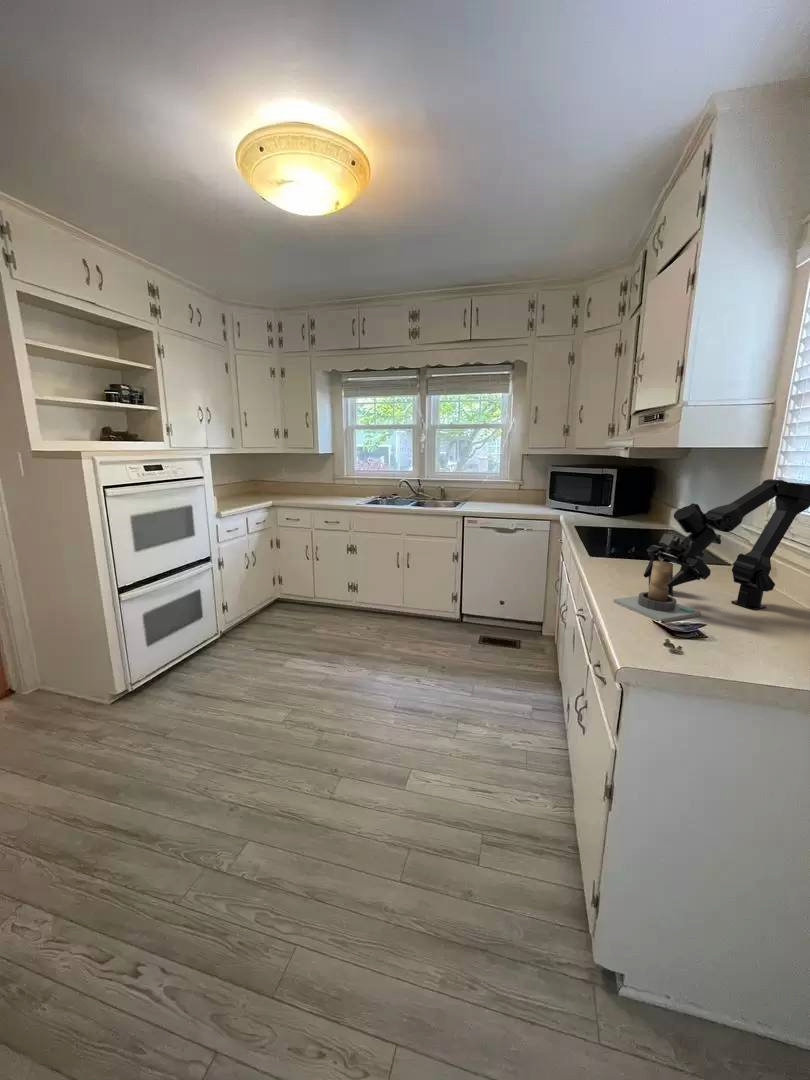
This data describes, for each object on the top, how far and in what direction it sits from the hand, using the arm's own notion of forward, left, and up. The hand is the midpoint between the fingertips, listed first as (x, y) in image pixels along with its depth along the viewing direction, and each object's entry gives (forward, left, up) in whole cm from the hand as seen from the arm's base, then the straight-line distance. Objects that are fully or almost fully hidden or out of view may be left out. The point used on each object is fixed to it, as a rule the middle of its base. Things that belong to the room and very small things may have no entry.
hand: (655, 581), depth 125 cm
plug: (-1, 0, -8) cm, 8 cm away
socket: (-1, 0, -9) cm, 9 cm away
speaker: (-16, -11, -9) cm, 21 cm away
